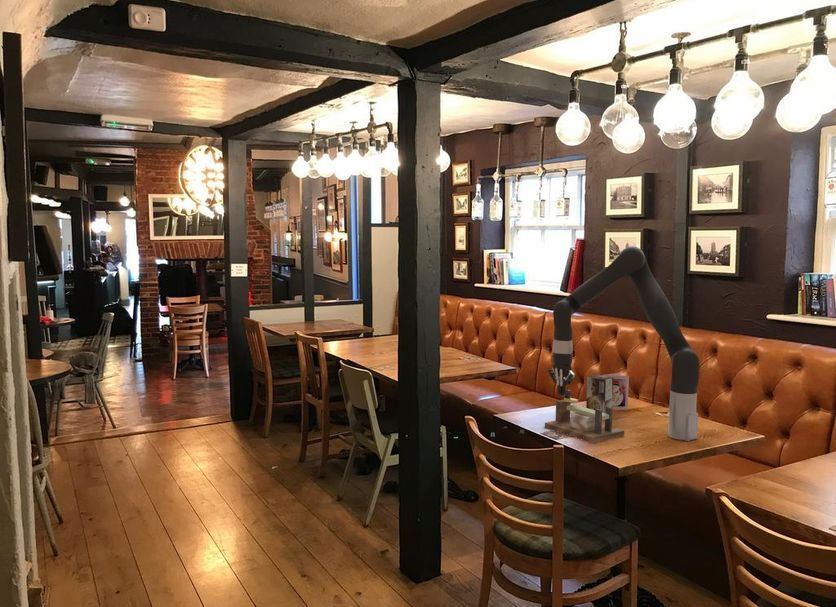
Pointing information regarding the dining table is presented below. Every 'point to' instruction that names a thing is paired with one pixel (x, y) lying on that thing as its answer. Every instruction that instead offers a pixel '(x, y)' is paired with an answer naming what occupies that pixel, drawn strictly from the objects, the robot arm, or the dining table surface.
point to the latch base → (576, 432)
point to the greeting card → (620, 391)
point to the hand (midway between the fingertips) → (561, 394)
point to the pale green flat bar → (585, 411)
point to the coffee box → (599, 392)
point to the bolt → (569, 397)
